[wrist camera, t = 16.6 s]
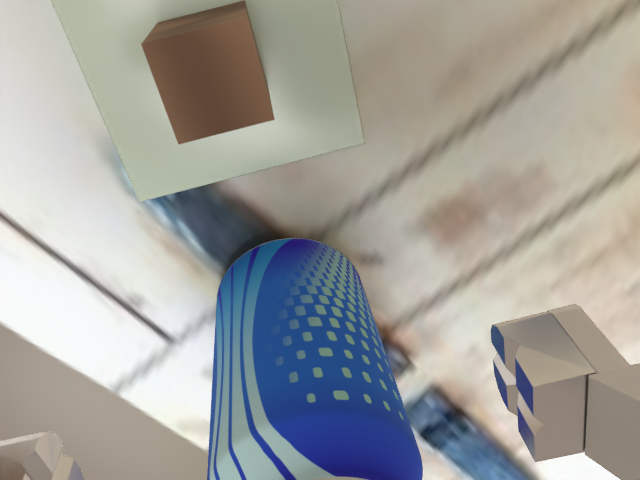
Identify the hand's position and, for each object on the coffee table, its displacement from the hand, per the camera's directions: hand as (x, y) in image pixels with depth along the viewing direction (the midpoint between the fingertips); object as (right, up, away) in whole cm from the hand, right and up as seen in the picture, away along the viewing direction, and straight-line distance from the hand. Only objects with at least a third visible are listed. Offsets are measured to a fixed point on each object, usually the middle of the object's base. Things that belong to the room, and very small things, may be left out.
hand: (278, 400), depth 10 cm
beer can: (-1, 0, +23) cm, 23 cm away
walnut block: (-4, +11, +16) cm, 20 cm away
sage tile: (-4, +12, +16) cm, 20 cm away
